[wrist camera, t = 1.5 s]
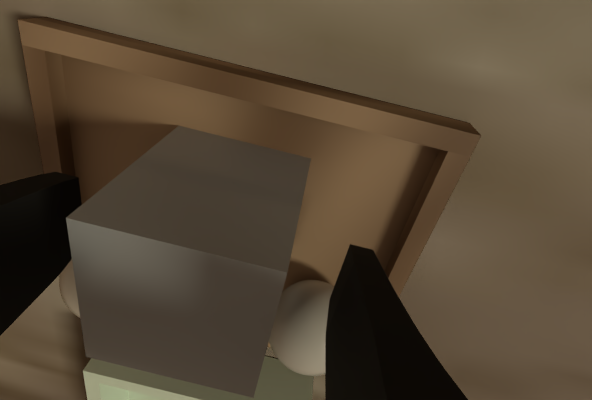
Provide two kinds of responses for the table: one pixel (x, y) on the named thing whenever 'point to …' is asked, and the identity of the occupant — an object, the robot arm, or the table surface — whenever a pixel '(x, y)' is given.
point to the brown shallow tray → (249, 138)
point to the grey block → (188, 258)
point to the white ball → (302, 327)
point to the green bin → (189, 384)
